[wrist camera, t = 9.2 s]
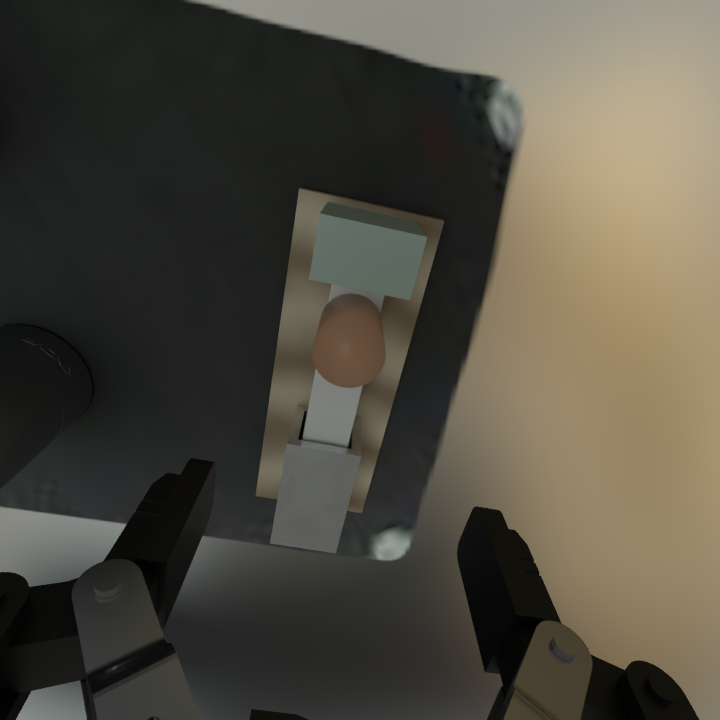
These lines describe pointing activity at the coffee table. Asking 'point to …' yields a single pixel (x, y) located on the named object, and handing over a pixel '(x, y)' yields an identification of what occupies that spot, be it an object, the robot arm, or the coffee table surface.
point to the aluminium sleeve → (315, 489)
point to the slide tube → (343, 363)
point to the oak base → (299, 337)
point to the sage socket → (367, 251)
